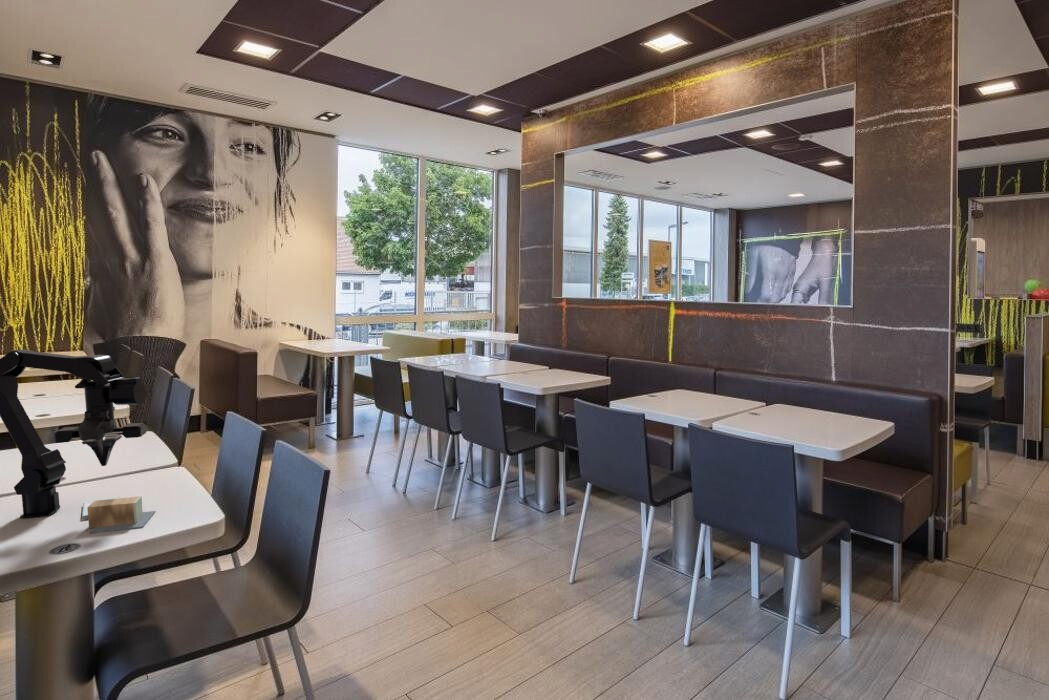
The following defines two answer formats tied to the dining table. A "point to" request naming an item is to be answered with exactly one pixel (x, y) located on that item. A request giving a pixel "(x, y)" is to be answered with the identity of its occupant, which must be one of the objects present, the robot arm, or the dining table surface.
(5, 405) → the robot arm
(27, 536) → the dining table surface
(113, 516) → the oak block
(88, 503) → the hard drive
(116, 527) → the grey mat
